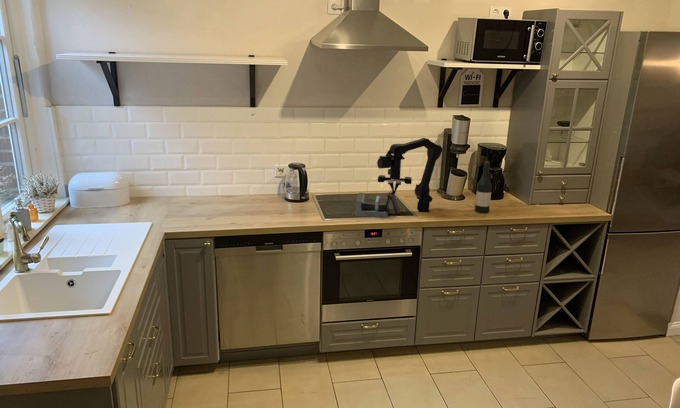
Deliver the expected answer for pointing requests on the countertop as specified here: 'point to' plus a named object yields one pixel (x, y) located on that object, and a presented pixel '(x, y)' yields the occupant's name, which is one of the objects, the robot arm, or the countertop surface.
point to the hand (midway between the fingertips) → (393, 194)
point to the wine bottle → (483, 191)
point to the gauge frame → (361, 205)
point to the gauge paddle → (377, 204)
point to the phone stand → (394, 202)
